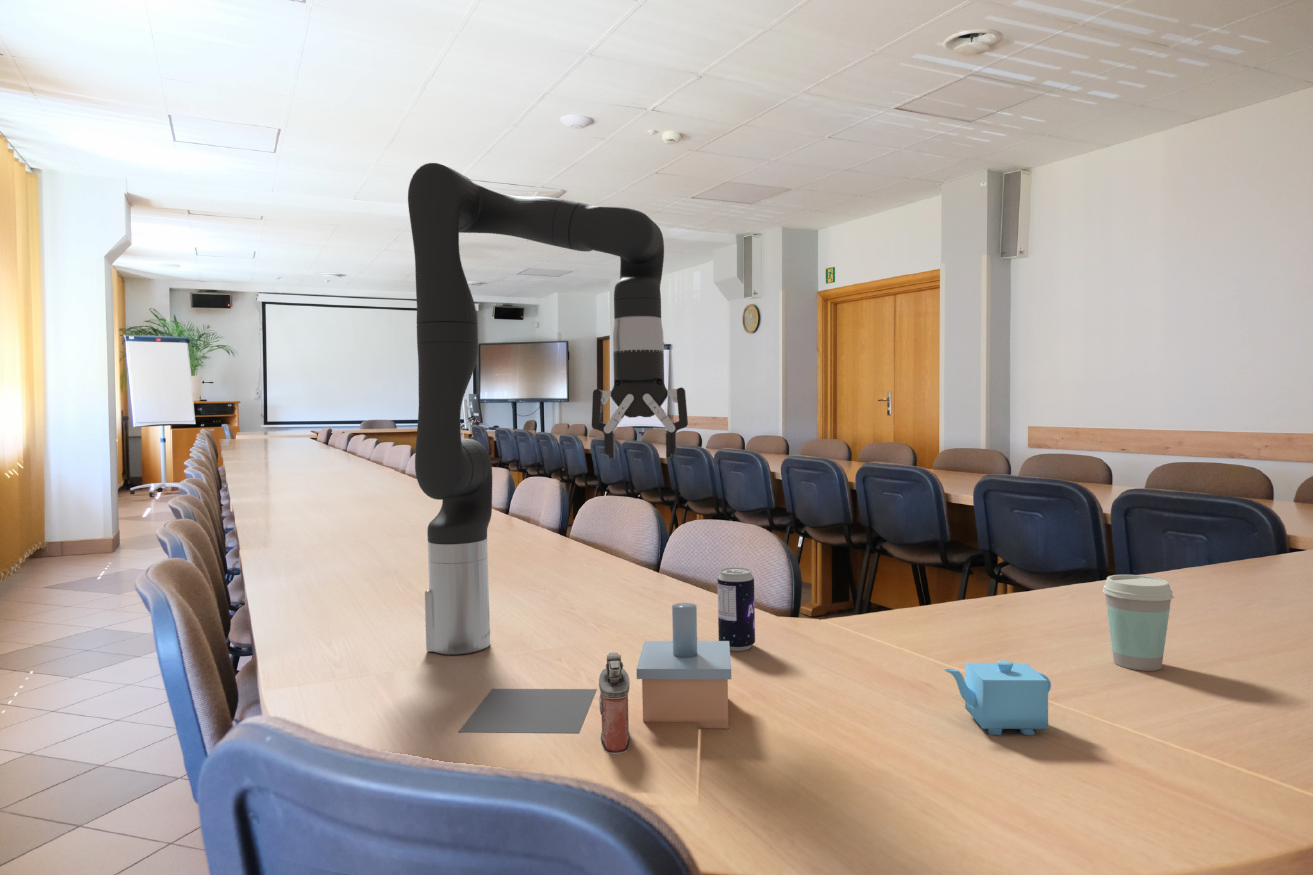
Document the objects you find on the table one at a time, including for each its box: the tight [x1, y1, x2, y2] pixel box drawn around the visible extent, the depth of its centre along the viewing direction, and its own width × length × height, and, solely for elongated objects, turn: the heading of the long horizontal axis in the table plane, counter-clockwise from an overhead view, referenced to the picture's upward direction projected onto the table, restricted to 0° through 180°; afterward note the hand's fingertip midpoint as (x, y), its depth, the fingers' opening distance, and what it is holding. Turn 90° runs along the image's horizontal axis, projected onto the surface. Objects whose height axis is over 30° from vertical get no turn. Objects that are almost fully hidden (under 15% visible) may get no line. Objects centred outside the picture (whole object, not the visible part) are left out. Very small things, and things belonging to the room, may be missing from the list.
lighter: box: [598, 651, 632, 755], centre depth 88 cm, size 8×3×10 cm, turn 5°
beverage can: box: [717, 567, 756, 652], centre depth 123 cm, size 6×6×12 cm
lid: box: [636, 602, 732, 680], centre depth 97 cm, size 11×11×7 cm
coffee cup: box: [1102, 574, 1175, 672], centre depth 111 cm, size 9×8×12 cm
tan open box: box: [641, 679, 729, 730], centre depth 97 cm, size 10×10×6 cm
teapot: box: [943, 660, 1052, 736], centre depth 91 cm, size 12×6×8 cm, turn 86°
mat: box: [458, 688, 597, 734], centre depth 97 cm, size 14×14×1 cm
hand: (640, 458), depth 118 cm, fingers open, 8 cm apart
